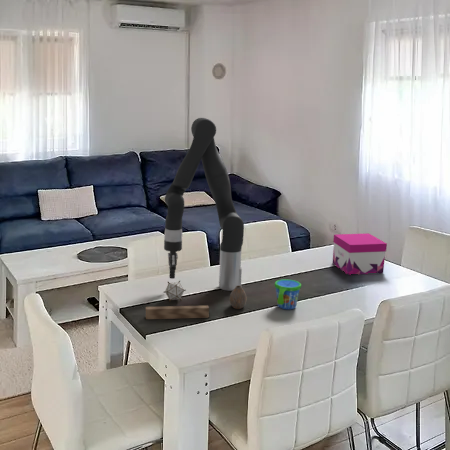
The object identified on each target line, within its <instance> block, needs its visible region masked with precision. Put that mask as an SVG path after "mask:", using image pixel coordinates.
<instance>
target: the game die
mask: <svg viewBox="0 0 450 450" xmlns="http://www.w3.org/2000/svg"><path fill="white" fill-rule="evenodd" d="M180 282H181V280H178V281H176V282H174V281H173V282H169V281H167V286H166V287H165V288H166V289H165V291H163V293H165V295H166V296H167V298H168V302H171V301H180V302H181V301H183V300H182V297H183V295H184V292H186V291H187V290H186V289H184V287H183V286H182V285H181V283H180Z"/></svg>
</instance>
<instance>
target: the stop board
mask: <svg viewBox="0 0 450 450" xmlns="http://www.w3.org/2000/svg"><path fill="white" fill-rule="evenodd" d="M209 313H210V306H209V305H176V306H175V305H173V306H172V305H171V306H169V305H168V306H166V305H165V306H145V320H162V319H163V320H165V319H166V320H169V319H201V318H202V319H203V318H204V319H205V318H207V319H209V317H210V314H209Z"/></svg>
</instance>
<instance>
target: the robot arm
mask: <svg viewBox="0 0 450 450" xmlns="http://www.w3.org/2000/svg"><path fill="white" fill-rule="evenodd" d="M190 130H191V134H192V136H193V138H192V142H191V145H190V147H189V149H188V151H187V153H186V155H185V156H184V158H183V159H182V161H181V163H180V165H179V167H178V168H177V171H176V174H175V177H174V179H173V181H172V183H171V184H170V186H169V188H168V189H167V191H166V194H165V196H164V202H165V204H166V206H167V215H166V216H165V221H164V222H165V223H164V225H165V226H164V227H165V228H164V237H163V238H164V239H163V240H164V241H163V248H164V251H166V252H168V253H167V258H168V261H167V262H168V268H169V269H168V270H169V275H168V276H169V277H168V278H169V279H172V280H173V279H176V278H175V276H176V270H177V265H178V259H179V256H178V253H177V252H180V251H182V250H183V216H184V210H185V199H184V197H183V196H184V194H185V193H186V190H188V189H189V187H190V186H191V184H192V181H193V179H194V176H195V175H196V172H197V169H198V167H199V165H200V162H201V163H202V167H203V170H204V175H205V179H206V182H207V184H208V188H209V191H210V194H211V197H212V199H213V201H214V203H215V207H216V212H217V215H218V222H219V226H220V229H222V237H221V243H219V244H220V245H219V247H220V248H219V276H218V280H219V281H218V288H219V289H220V290H224V291H231V292H232V291H233V290H234V289H235V287H236V286H241V287H242V270H243V269H242V267H241V265H242V248H243V243H244V233H245V232H244V231H245V223H244V221H243V219H242V218H241V216H239V215H238V212H237V210H236V208H235V206H234V202H233V198H232V188H231V187H232V186H231V180H230V177H229V174H228V169H227V167H226V165H225V162H224V161H223V158H222V156H221V155H220V152H219V151H218V149H217V145H216V142H215V136H216V133H217V126H216V124H215V123H214V121H212V120H211V119H209V118H205V117H198V118H196V119H195V120H193V122H192V125H191V129H190Z"/></svg>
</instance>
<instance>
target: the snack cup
mask: <svg viewBox="0 0 450 450" xmlns="http://www.w3.org/2000/svg"><path fill="white" fill-rule="evenodd" d="M274 287H275V294H276V305H277V307H278V308H280V309H282V310H293V309H295V308H296V306H297V304H298V299H299V294H300V290H301V288H302V283H301V282H299V281H297V280H294V279H290V278H289V279H288V278H284V279H283V278H282V279H278V280H276V281H274Z"/></svg>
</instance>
